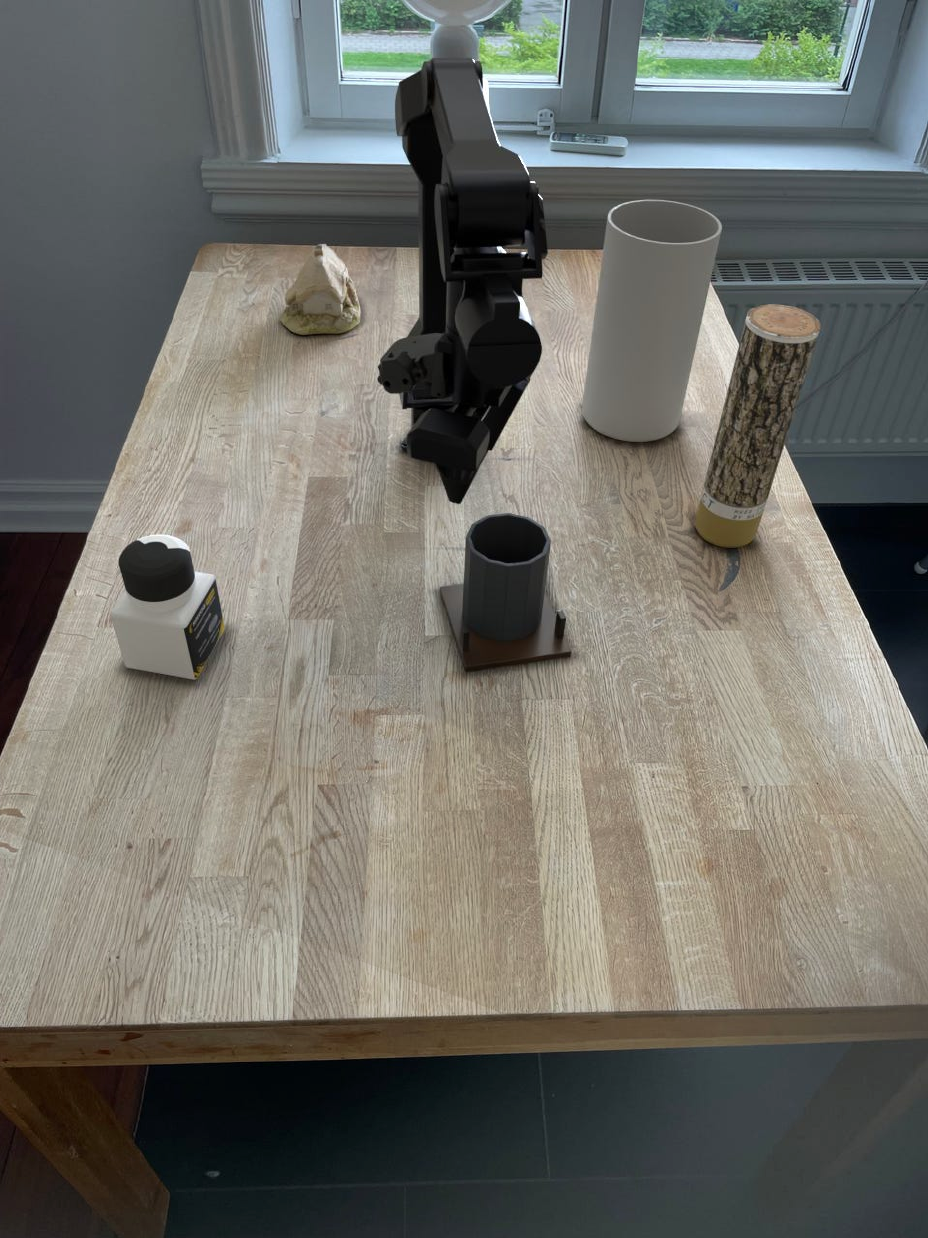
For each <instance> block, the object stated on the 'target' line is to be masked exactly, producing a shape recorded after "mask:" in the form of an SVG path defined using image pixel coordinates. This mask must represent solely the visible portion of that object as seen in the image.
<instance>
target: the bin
mask: <svg viewBox="0 0 928 1238" xmlns="http://www.w3.org/2000/svg"><path fill="white" fill-rule="evenodd" d="M551 544H552V540H551V538H550V535H549V534H548V531H547V529H546V527H545V526H543V525H542V524H540V523H539V522H537V521H535V520H534V519H533V518H531V517H529V516H525V515H520V514H516V513H511V512H503V513H495V514H487V515H485V516H483V517H482V518H480V519H478V520H477V521H474V522H473V523H471V525H470V527H469V529H468V531H467V533H466V535H465V547H464V565H463V566H464V567H463V584H464V586H463V607H462V613H463V616H464V619H465V622H466V623H467V625H468V627H469V628H470V629H472V630H473V631H474V632H476V633H477V634H478V635H479V636H481V637H483V638H488V639H492V640H496V641H500V642H504V641H511V640H518V639H523V638H524V637H526V636H527V635H529V634H530V633H532V632H533V631H535V630H536V629H537V628H538V625H539V622H540V619H541V616H542V609H543V601H544V593H545V592H546V585H547V576H548V570H549V569H548V568H549V561H550V553H551Z"/></svg>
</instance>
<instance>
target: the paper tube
mask: <svg viewBox="0 0 928 1238" xmlns="http://www.w3.org/2000/svg"><path fill="white" fill-rule="evenodd" d="M820 330H821V322H820V321H819V319H818V318H817V317H815V316H814V315H813V314H811V313H810V312H808V311H806V310H803V309H801V308H797V307H794V306H790V305H786V304H785V305H784V304H773V303H772V304H762V305H757V306H755V307H753V308H750V309H749V311H748V312H747V315H746V318H745V319H744V324H743V328H742V332H741V336H740V340H739V344H738V348H737V352H736V355H735V360H734V364H733V368H732V371H731V376H730V379H729V383H728V388H727V392H726V395H725V400H724V403H723V406H722V407H723V408H722V412H721V415H720V419H719V423H718V427H717V431H716V435H715V439H714V443H713V447H712V451H711V455H710V458H709V459H710V460H709V463H708V467H707V471H706V475H705V478H704V483H703V487H702V491H701V495H700V499H699V504H698V506H697V507H698V508H697V511H696V515H695V519H694V525H695V528H696V531H697V533H698V534H699V536H700V537H702V538H703V539H704V540H705V541H707V542H709V544H712V545H715V546H718V547H721V548H729V549H733V548H734V549H735V548H741V547H744V546H746V545H748V544H750V543H751V542H752V541H754V539H755V538H756V536H757V533H758V530H759V528H760V524H761V521H762V518H763V514H764V511H765V509H766V505H767V502H768V500H769V496H770V492H771V490H772V485H773V483H774V479H775V476H776V474H777V471H778V467H779V464H780V461H781V457H782V453H783V450H784V446H785V443H786V441H787V438H788V435H789V431H790V428H791V424H792V421H793V419H794V416H795V412H796V408H797V406H798V402H799V399H800V395H801V393H802V390H803V386H804V384H805V380H806V377H807V374H808V370H809V368H810V364H811V362H812V357H813V355H814V351H815V348H816V344H817V341H818V338H819V336H820Z"/></svg>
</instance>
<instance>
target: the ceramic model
mask: <svg viewBox="0 0 928 1238" xmlns="http://www.w3.org/2000/svg"><path fill="white" fill-rule="evenodd" d="M284 297H285V298H284V302H285V304H286V307H285V308H284V309H283V315H282V317H281V323H282V325H284V326H285V328H287V329H288V330H289V331H290V332H293V333H294V334H297V335H301V336H306V335H318V334H319V335H320V334H343V333H346V332H349V331H351V330H352V329H354V328H356V327H357V326H358V325H359V324H360V321H361V306H360V302H359V301H360V300H359V298H358V294H357V290H356V286H355V282H354V281H353V280H352V278H351V277H350V275H349V270H348V268H347V266H346V265H345V262H343V260H342V259H341V258H340V256H338V254H337V253H336V252H335V251H334V250H333V249H332V248H330V247H328V245H327V244H326V243H319V244H317V245H315V247H314V250H313V251H312V253H311V254H310V255H309V256H308V258H307V259H306V260H305V262H304V264H303V266H302V267H301V268H300V270H299V272H298V274H297V277H296V279H295V281H294V284H293V285H291V287H290V288H289V289H288V290H287V291H286V292H285V296H284Z"/></svg>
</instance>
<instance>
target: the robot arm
mask: <svg viewBox="0 0 928 1238" xmlns="http://www.w3.org/2000/svg"><path fill="white" fill-rule="evenodd" d="M483 72H484V71H483V65H482V62H481V61H480V60H475V59H474V58H473V57H432V58H430V60H427V61H425V60H424V61H423V62H422V65H421V69H420V70H419V71H417V72H415V73H413V74H411V75H410V76H407V77H405V78H403V79H402V80H400V81H399V82H398V85H397V88H396V89H397V90H396V92H395V93H396V94H395V97H394V98H395V99H394V121H395V123H394V124H395V133H396V137H401V147H402V150H403V152H404V155H405V156H406V157H405V158H406V159H407V161H408V163H409V165H410V167H411V168H412V170H413V172H414V173H415V175H416V178H417V185H418V187H417V189H418V191H417V192H418V193H417V194H418V197H417V199H418V200H417V201H418V314H419V315H418V319H417V320H416V321H415V323H414V325H413V326H412V328H411V330H410V331H409V333H408V334H407V336H406V337H401V338H399V339H397V340H396V341H394V342H393V343H392V344H391V345H390V346H389V348H388V349H387V350H386V352H385V353H383V355H382V356H381V358H380V359H379V362H380V363H379V364H378V365H377V369H378V373H379V375H378V376H377V382H378V383H379V384H380V385H381V386H382V387H383V390H384V391H385V392H386V393H388V394H391V395H394V394H395V395H396V394H397V395H399V400H400V405H401V409H402V410H408V409H410V430H409V431H408V433H407V434H406V437H405V438H404V440H403V441H402V443H401V444H400V450H402V451H406V453H407V455H408V457H410V459H413V460H418V461H422V462H426V463H430V464H434V466H435V468H436V471H437V472H438V474H439V475H438V476H439V477H440V480H441V482H442V485H443V488H444V491H445V494H446V496H447V499H448V501H449V502H450V503H452V504H456V505H461V504H462V502H463V501H464V498H465V497H466V495H467V493H468V491H469V489H470V487H471V485H472V484H473V481H474V480H475V478H476V476H477V474H478V472H479V471H480V468H481V467H482V465H483V463H484V461H485V459H486V457H487V455H488V453H489V451H490V452H491V451H493V450H494V447H495V446H496V444H497V442H498V441H499V439H500V436H501V435H502V434H503V431H504V429H505V427H506V426H507V424H508V422H509V420H510V418H511V417H512V414H513V413H514V411H515V409H516V407H517V406H518V404H519V402H520V400H521V398H522V397H523V395H524V392H525V391H526V389H527V387H528V386H529V384H530V383H531V377H532V376H533V374H534V372H535V371H536V369H537V367H538V365H539V363H540V362H541V358H542V354H543V345H542V341H541V337H540V334H539V332H538V329H537V327H536V324H535V322H534V320H533V318H532V315H531V313H530V311H529V308H528V306H527V304H526V301H525V299H524V296H523V283H524V282H523V281H524V280H536V279H537V280H539V279H542V278H543V272H544V271H543V260H545V259H546V258H547V256H548V255H549V251H548V250H549V249H548V240H547V231H546V229H547V227H546V219H545V209H544V200H543V197H542V196H541V195H540V194H539V189H540V188H539V186H538V185H537V183H536V182H535V181H531V180H532V179H531V177H530V176H531V175H530V173H529V171H528V168H527V167H526V165H525V163H524V161H523V159H522V157H521V155H519V154H518V153H516V152H514V151H512V150H510V149H508V148H507V147H504V146H502V145H501V144H500V141H499V139H498V135H497V132H496V128H495V125H494V121H493V119H492V116H491V112H490V104H489V103H490V102H489V82H488V79H486V78H485V77H484V73H483ZM525 243H526V249H527V250H526V251H527V252H526V251H525V252H524V251H522V252H521V251H520V252H519V251H518V252H506V251H505V249H503V248H502V247H505V248H506V247H507V248H508V247H522V246H524V245H525Z"/></svg>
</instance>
